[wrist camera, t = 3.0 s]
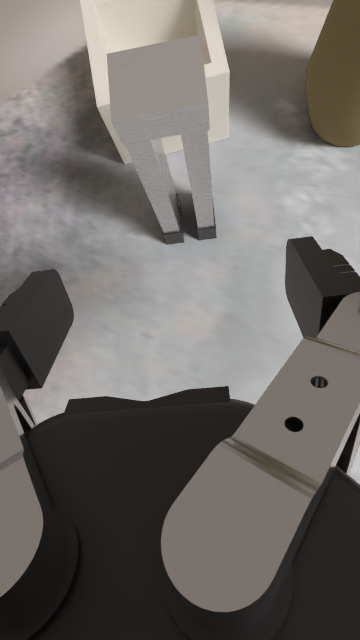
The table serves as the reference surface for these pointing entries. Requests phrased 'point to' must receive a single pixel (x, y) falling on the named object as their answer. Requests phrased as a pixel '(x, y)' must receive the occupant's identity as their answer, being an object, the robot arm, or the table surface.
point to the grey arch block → (165, 125)
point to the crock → (151, 28)
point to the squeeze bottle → (336, 76)
